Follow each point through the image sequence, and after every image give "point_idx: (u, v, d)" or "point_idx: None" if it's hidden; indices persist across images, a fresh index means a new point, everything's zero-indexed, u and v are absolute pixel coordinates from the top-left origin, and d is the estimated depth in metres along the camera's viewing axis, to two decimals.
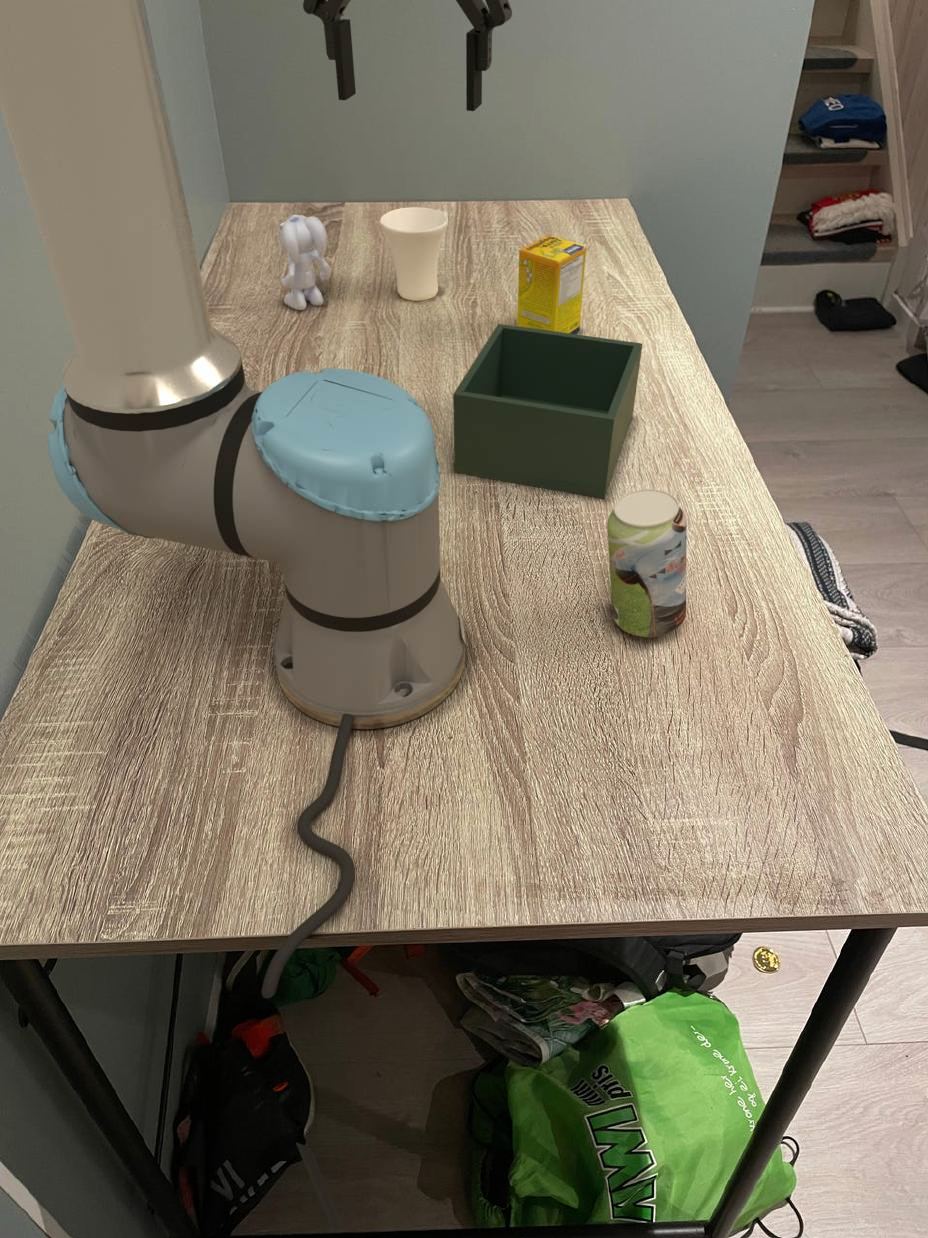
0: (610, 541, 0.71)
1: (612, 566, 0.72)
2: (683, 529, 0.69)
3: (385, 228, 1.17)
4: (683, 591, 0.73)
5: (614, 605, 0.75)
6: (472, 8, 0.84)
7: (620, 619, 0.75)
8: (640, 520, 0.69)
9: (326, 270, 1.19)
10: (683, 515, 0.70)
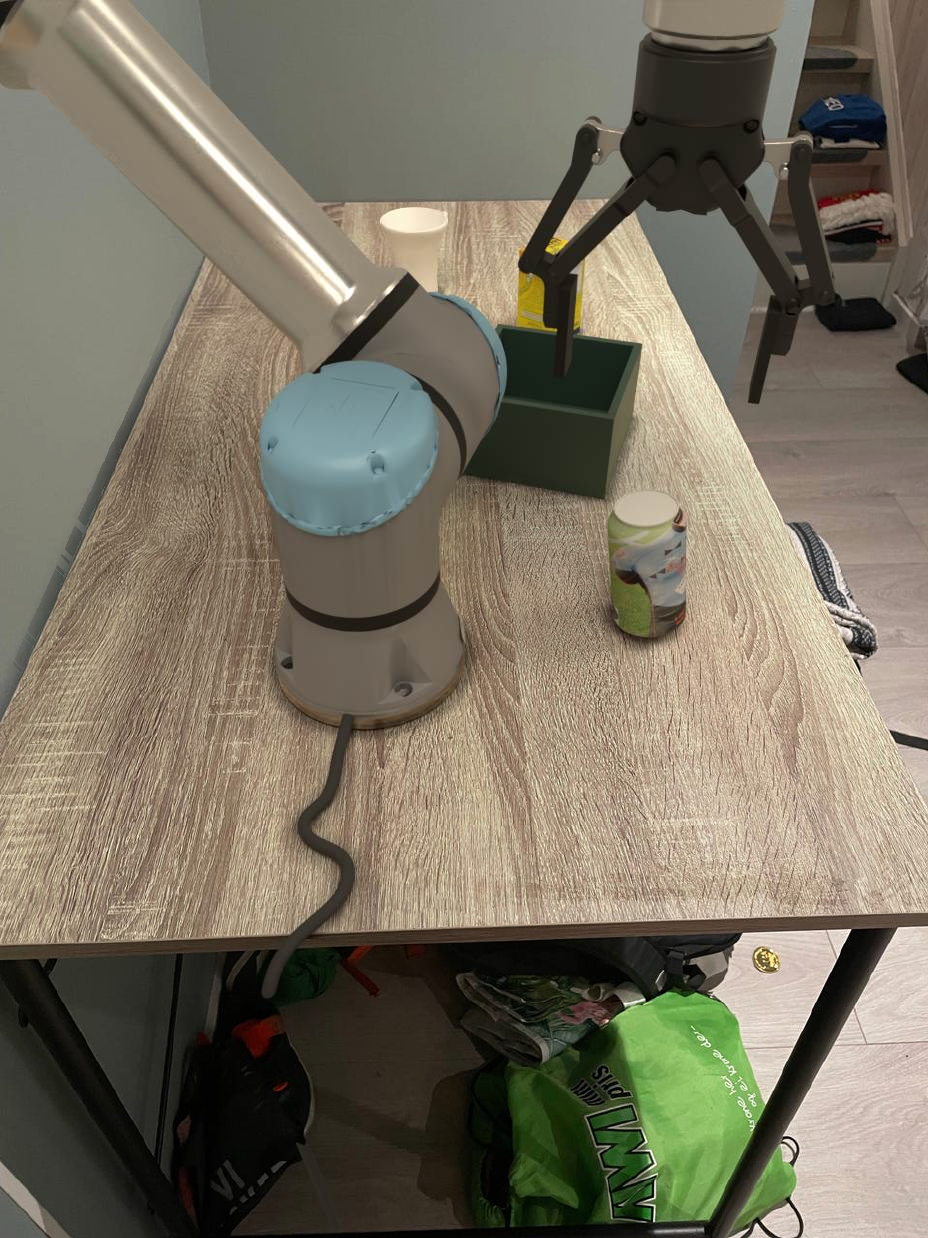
0: (610, 541, 0.71)
1: (612, 566, 0.72)
2: (683, 529, 0.69)
3: (385, 228, 1.17)
4: (683, 591, 0.73)
5: (614, 605, 0.75)
6: (784, 282, 0.57)
7: (620, 619, 0.75)
8: (640, 520, 0.69)
9: None
10: (683, 515, 0.70)
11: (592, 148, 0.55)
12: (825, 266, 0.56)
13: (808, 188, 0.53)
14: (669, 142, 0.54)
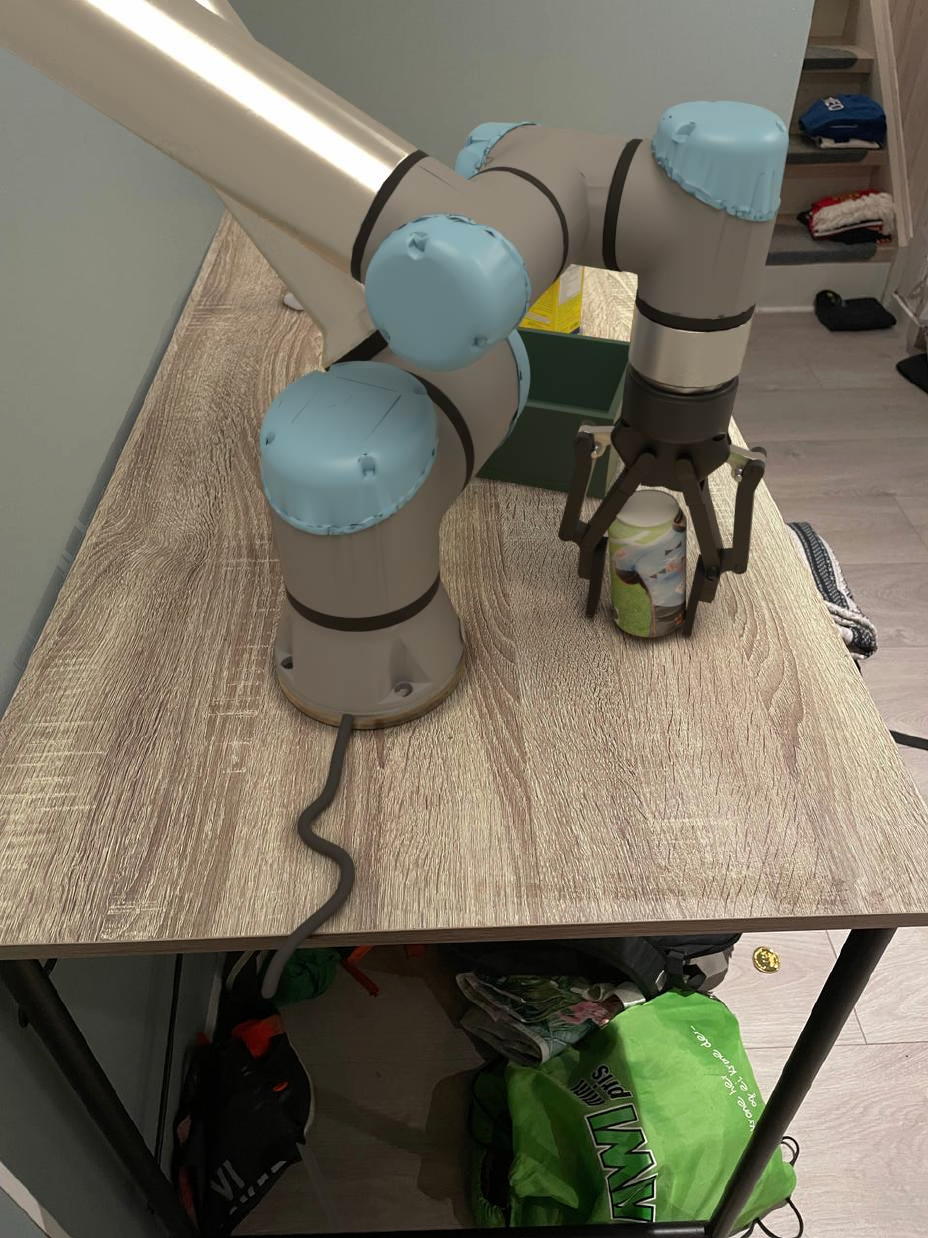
0: (610, 541, 0.71)
1: (612, 566, 0.72)
2: (683, 529, 0.69)
3: None
4: (683, 591, 0.73)
5: (614, 605, 0.75)
6: (712, 554, 0.69)
7: (620, 619, 0.75)
8: (641, 520, 0.69)
9: None
10: (683, 515, 0.70)
11: (589, 449, 0.66)
12: (746, 549, 0.68)
13: (752, 495, 0.65)
14: (651, 440, 0.64)
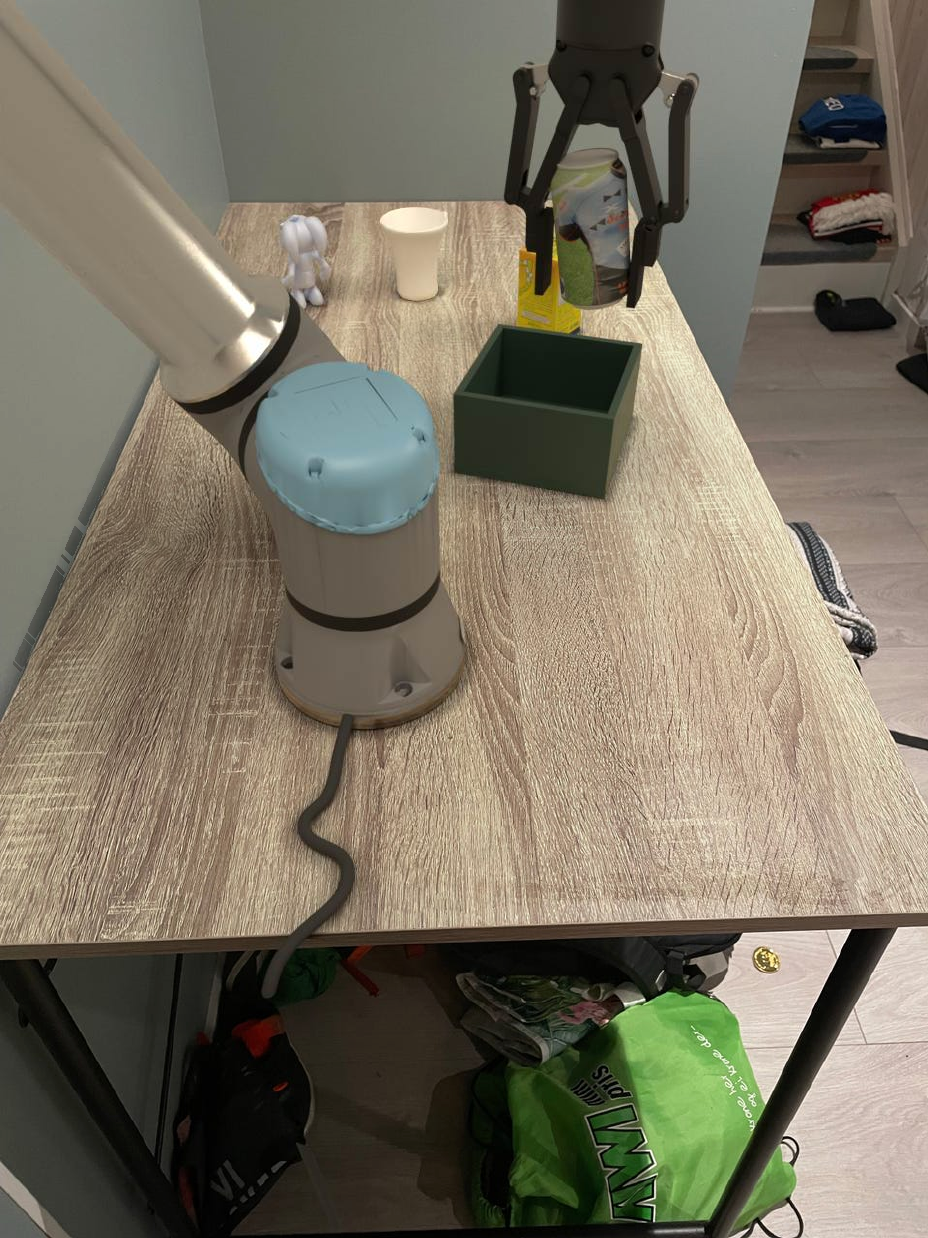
0: (553, 197, 0.73)
1: (556, 227, 0.74)
2: (622, 176, 0.71)
3: (385, 228, 1.17)
4: (626, 255, 0.75)
5: (560, 276, 0.77)
6: (650, 201, 0.71)
7: (566, 290, 0.77)
8: (580, 165, 0.70)
9: (326, 270, 1.19)
10: (623, 165, 0.71)
11: (527, 84, 0.68)
12: (682, 190, 0.70)
13: (684, 120, 0.66)
14: (585, 65, 0.66)
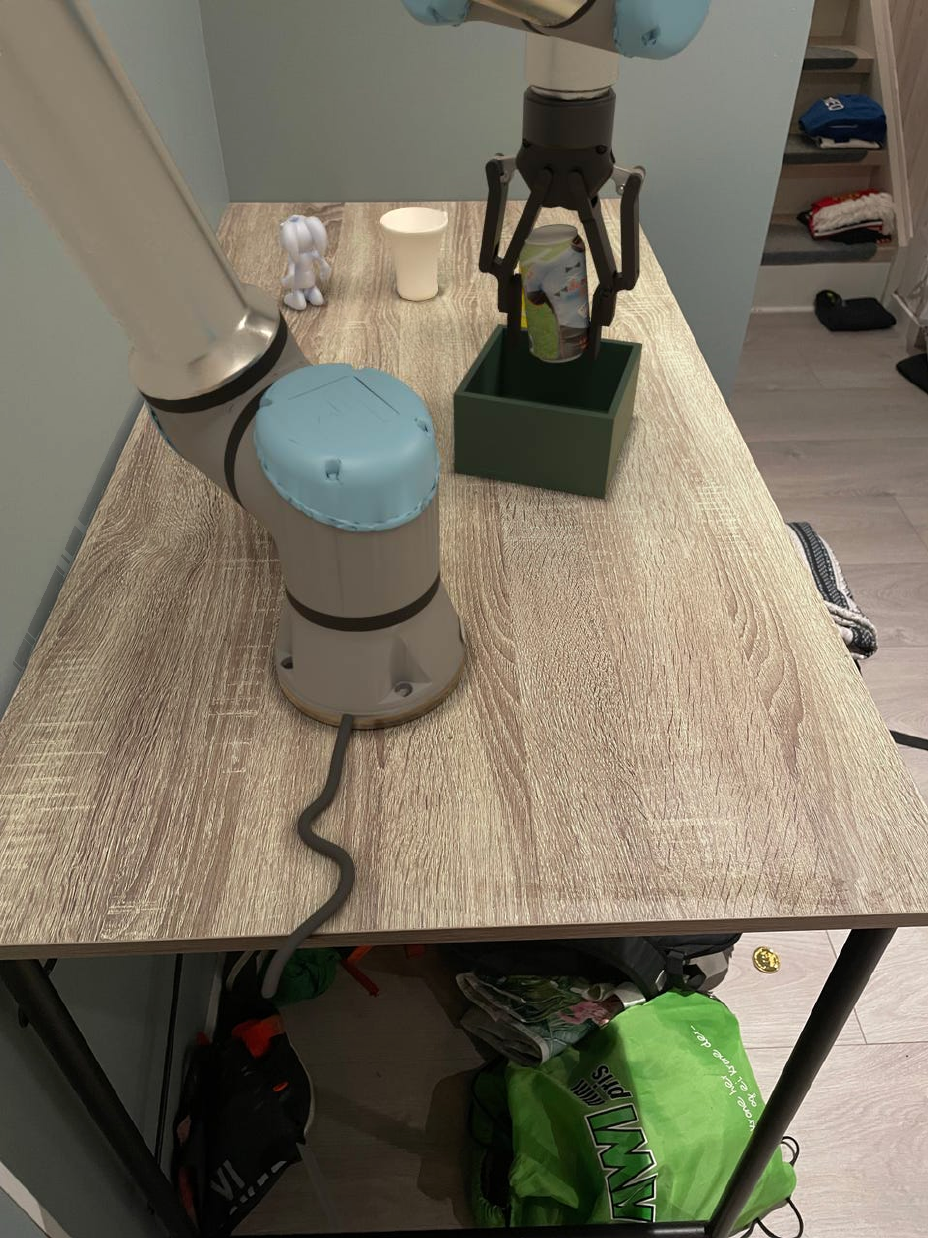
0: (521, 267, 0.83)
1: (524, 292, 0.85)
2: (581, 250, 0.82)
3: (385, 228, 1.17)
4: (586, 316, 0.86)
5: (529, 334, 0.87)
6: (605, 272, 0.82)
7: (534, 346, 0.87)
8: (544, 241, 0.81)
9: (326, 270, 1.19)
10: (582, 240, 0.82)
11: (498, 173, 0.79)
12: (632, 263, 0.80)
13: (633, 206, 0.77)
14: (548, 159, 0.77)
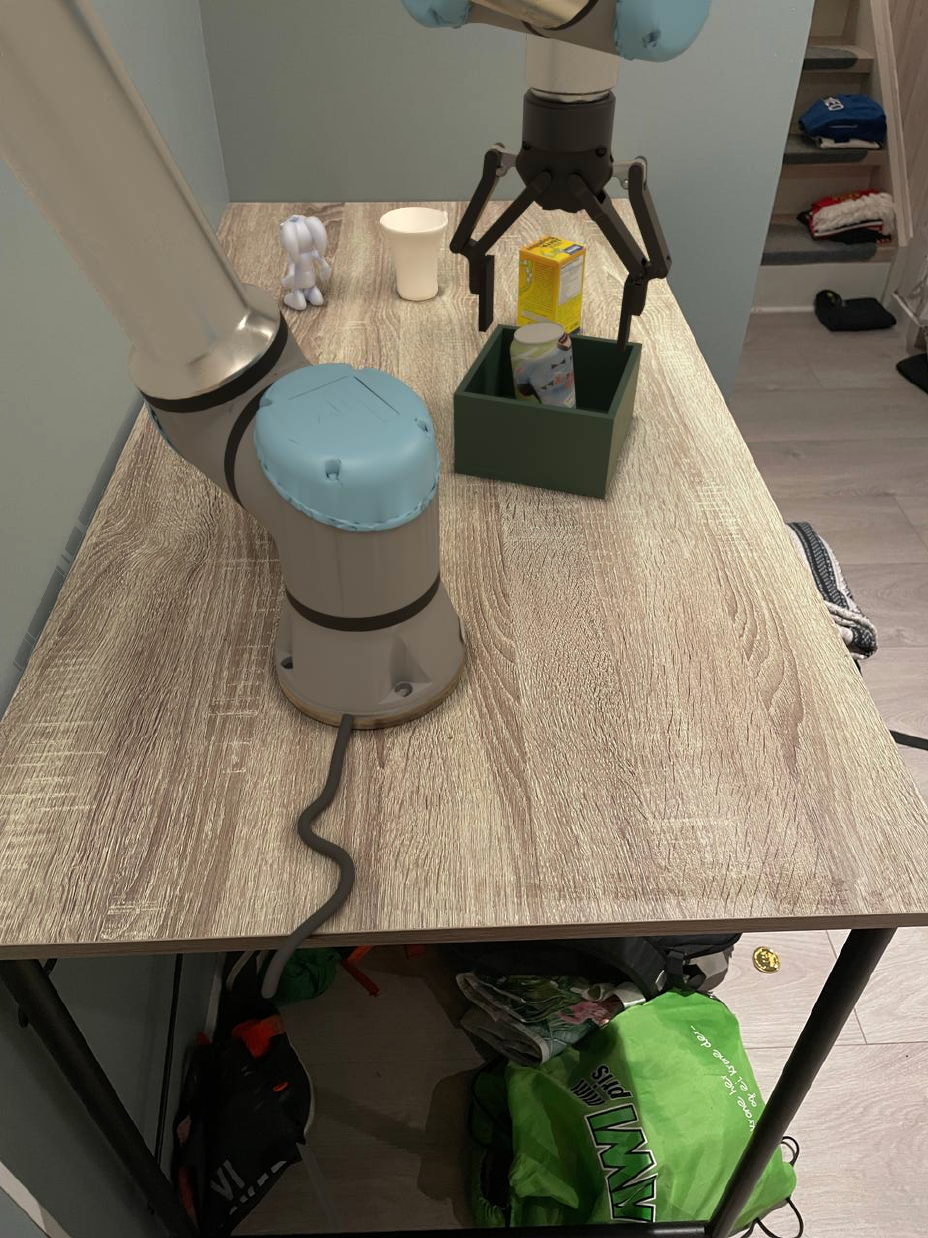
0: (511, 361, 0.90)
1: (514, 383, 0.91)
2: (567, 348, 0.88)
3: (385, 228, 1.17)
4: (571, 406, 0.92)
5: None
6: (632, 261, 0.80)
7: None
8: (532, 340, 0.88)
9: (326, 270, 1.19)
10: (568, 339, 0.89)
11: (496, 165, 0.78)
12: (659, 250, 0.79)
13: (642, 195, 0.76)
14: (547, 162, 0.77)
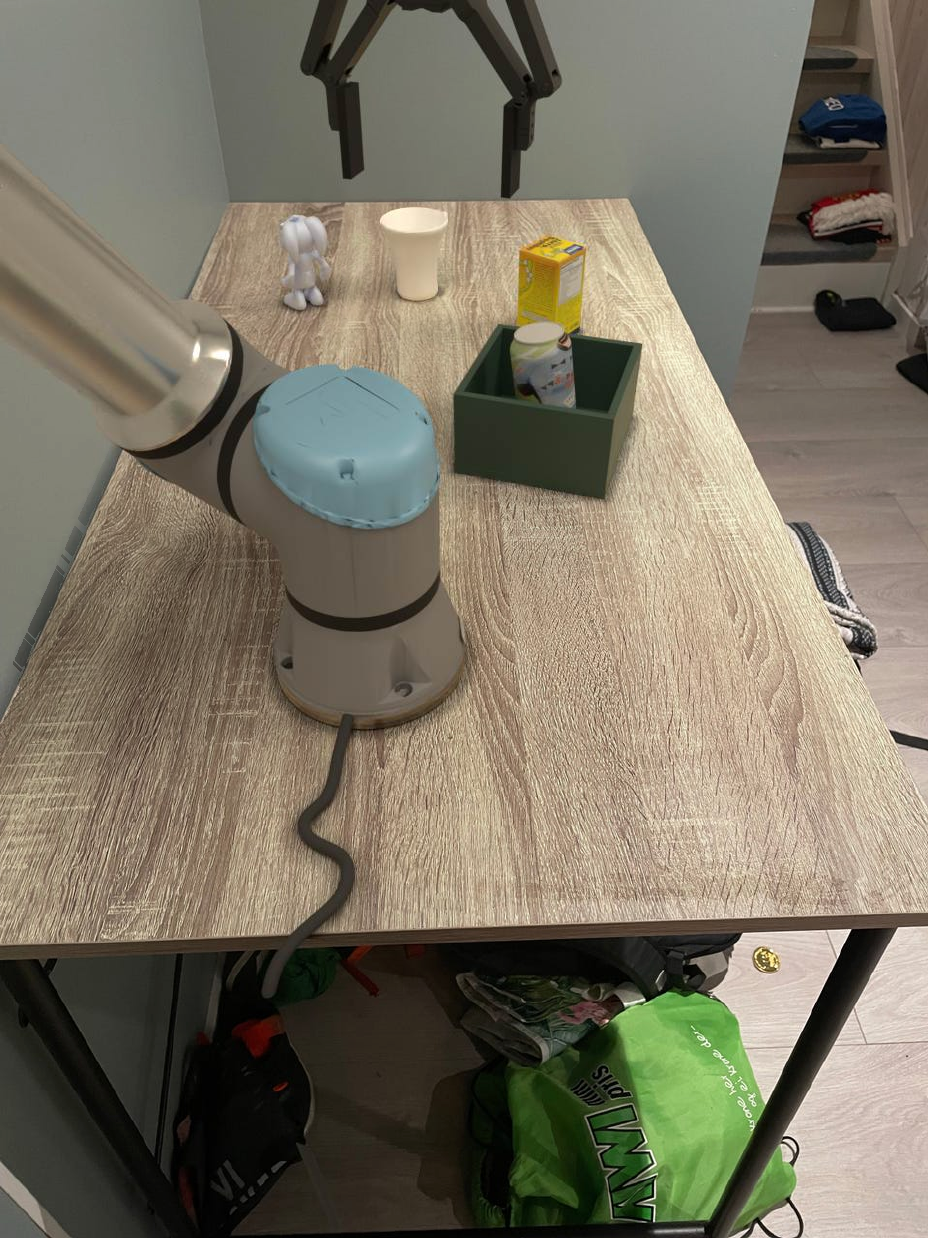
0: (511, 361, 0.90)
1: (514, 383, 0.91)
2: (567, 348, 0.88)
3: (385, 228, 1.17)
4: (571, 406, 0.92)
5: None
6: (511, 75, 0.66)
7: None
8: (532, 340, 0.88)
9: (326, 270, 1.19)
10: (568, 339, 0.89)
11: None
12: (541, 58, 0.65)
13: None
14: None
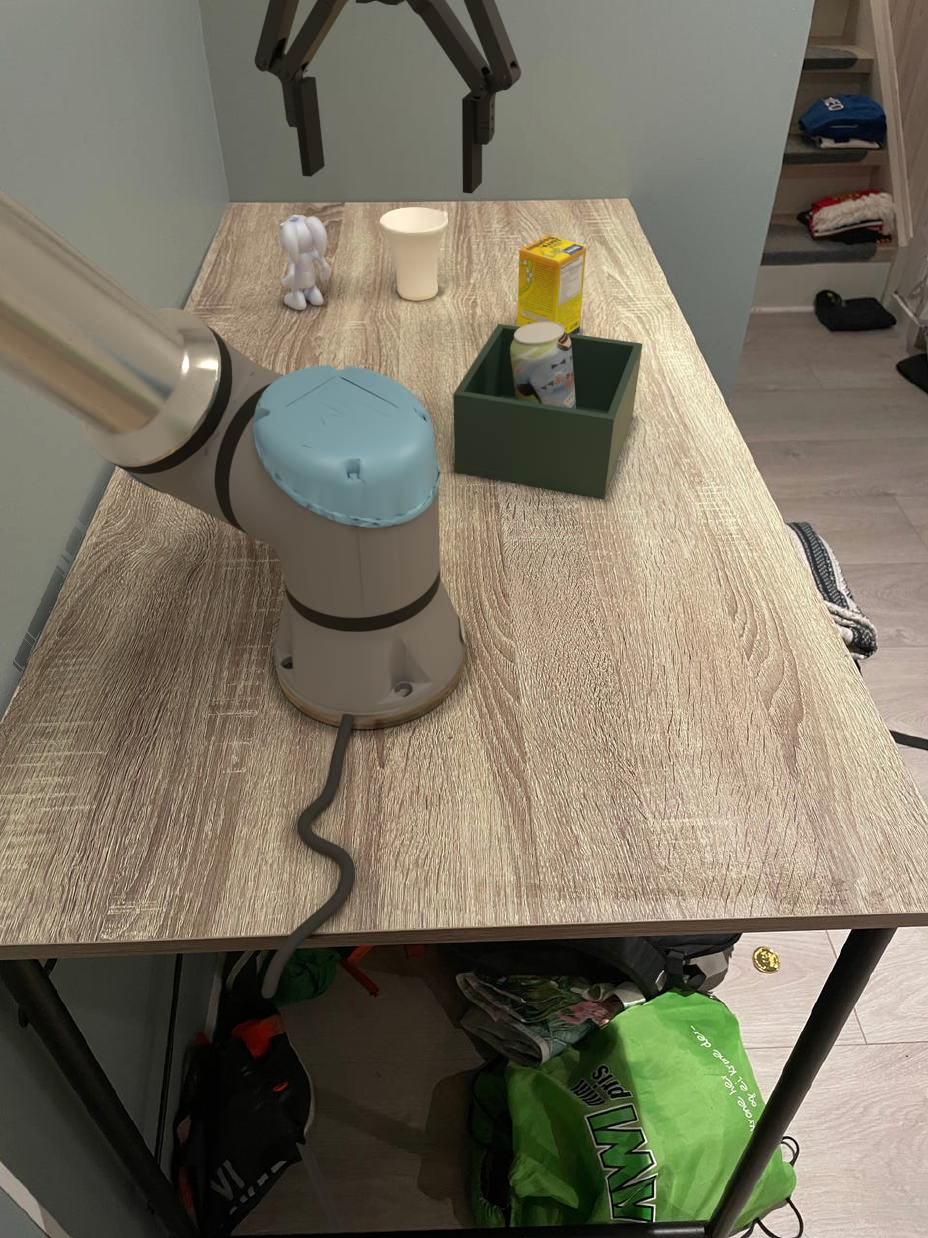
0: (511, 361, 0.90)
1: (514, 383, 0.91)
2: (567, 348, 0.88)
3: (385, 228, 1.17)
4: (571, 406, 0.92)
5: None
6: (469, 67, 0.65)
7: None
8: (532, 340, 0.88)
9: (326, 270, 1.19)
10: (568, 339, 0.89)
11: None
12: (498, 50, 0.64)
13: None
14: None
